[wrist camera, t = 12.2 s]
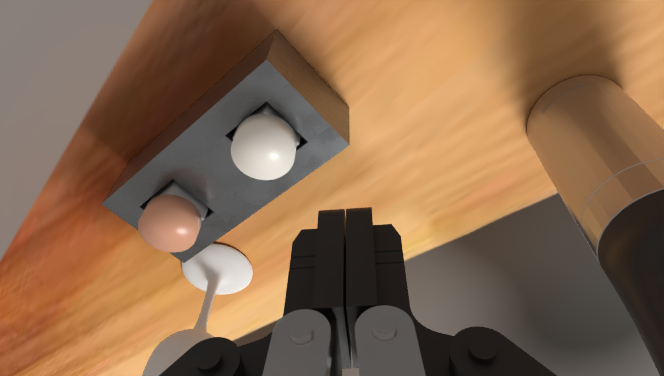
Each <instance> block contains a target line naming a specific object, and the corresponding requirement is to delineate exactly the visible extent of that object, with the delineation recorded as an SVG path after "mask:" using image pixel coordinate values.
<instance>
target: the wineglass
mask: <svg viewBox="0 0 664 376" xmlns="http://www.w3.org/2000/svg"><path fill="white" fill-rule="evenodd" d="M182 270H183V273H184V275H185V277H186V278H187V279H188V281H189V282H190V283H192V284H193V285H194V286H196V287H197V288H199V289H201V290H203V291H206V295H205V299H204V303H203V306H202V310H201V313H200V316H199V318H198V321H197V323H196V325H195V327H194V329H188V330H183V331H179V332H176V333H174V334H172V335H170V336H169V337H167V338H166V339H164V340H163V341H162V342H161V343H160V344H159V345H158V346H157V347H156V348H155V350H154V351H153V353H152V354H151V356H150V358H149V360H148V362H147V365H146V367H145V369H144V372H143V375H142V376H159V375H160V374H161V373H162V372H163V371H165V370H166V369H167V368H168V367H169V366H170V365H172V364H173V363H174V362H175V361H176V360H177V359H178V358H180V357H181V356H182V355H183V354H184V353H185V352H187V351H188V350H189V349H190V348H191V347H192V346H194V345H195V344H197V343H198V342H200V341H203V340H205V339H208V338H213V336H212V335H210V334H209V333H207V332H206V327H207V321H208V316H209V312H210V309H211V305H212V302H213V299H214V296H215V294H231V293H235V292H238V291H240V290H242V289H244V288H245V287H246V286H247V285H248V284H249V283H250V281H251V279H252V275H253V270H252V266H251V264H250V262H249V261H248V259H247V258H246V257H245V256H244V255H243V254H242V253H241V252H239V251H238V250H236V249H234V248H232V247H229V246H226V245H222V244H214V243H212V244H210V245H209V246H208V247H206V248H205V249H203V250H202V251H201V252H199V253H198V254H196V255H195V256H194V257H192V258H191V259H189V260H188V261H187V262H185V263H183V262H182Z"/></svg>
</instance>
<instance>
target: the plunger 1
mask: <svg viewBox="0 0 664 376" xmlns="http://www.w3.org/2000/svg"><path fill="white" fill-rule="evenodd" d="M207 210H208V207H207V206H206V205H205V204H204V203H202V202H201V201H200V200H199V199H197V198H196V197H195V196H194V195H192V194H191V193H190V192H189V191H187V190H186V189H185V188H184V187H182V186H181V185H180V184H179V183H177V182H176V181H175V180H174V179H172V180H171V181H170V182H169V183H167V184H166V185H165V186H164V187H163V188H161V189H160V190H159V191H158V192H157V193H155V194H154V195H153V196H152V198H151V200H150V201H149V202H148V204H147V206H146V208H145V210H144V211H143V213H142V215H141V217H140V219H139V222H138V230H139V233H140V235H141V237H142V238H143V239H144V240H145V241H146V242H147V243H148V244H149V245H151V246H152V247H154V248H156V249H158V250H161V251H165V252H182V251H185V250H187V249H189V248H190V247H191V246H192V245H193V244H194V243H195V241H196V238H197V235H198V233H199V230H200V227H201V224H202V221H203V220H204V219H205V216H206V213H207Z"/></svg>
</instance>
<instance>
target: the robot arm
mask: <svg viewBox="0 0 664 376" xmlns="http://www.w3.org/2000/svg"><path fill="white" fill-rule="evenodd" d="M527 136H528V138H529V141H530V143H531V145H532V147H533V149H534V150H535V152H536V154H537V156H538V157H539V159H540V161H541V163H542V165H543V166H544V168H545V170H546V172H547V173H548V175H549V177H550V179H551V180H552V182H553V184H554V186H555V187H556V189H557V191H558V192H559V194H560V196H561V198H562V199H563V201H564V203H565V205H566V206H567V208H568V210H569V212H570V213H571V215H572V217H573V218H574V220H575V222H576V224H577V225H578V227H579V229H580V231H581V232H582V234H583V236H584V237H585V239H586V241H587V242H588V244H589V246H590V248H591V249H592V251H593V252H594V254H595V256H596V258H597V260H598V262H599V263H600V265H601V267H602V269H603V270H604V272H605V274H606V275H607V277H608V279H609V280H610V282H611V284H612V285H613V287H614V289H615V290H616V292H617V294H618V295H619V297H620V299H621V300H622V302H623V304H624V306H625V308H626V309H627V311H628V313H629V315H630V316H631V318H632V320H633V322H634V324H635V326H636V328H637V329H638V332H639V334H640V335H641V338H642V339H643V341H644V343H645V345H646V347H647V349H648V351H649V354H650V356H651V358H652V360H653V362H654V364H655V366H656V368H657V370H658V372H659V374H660V376H664V130H663V129H662V128H661V127H660V126H659V125H658V124H657V123H656V122H655V121H654V120H653V119H652V118H651V117H650V116H649V115H648V114H647V113H646V112H645V111H644V110H643V109H642V108H641V107H640V106H639V105H638V104H637V103H636V102H635V101H634V100H633V99H632V98H630V97H629V96H628V95H627V94H626V93H625V92H624V91H623V90H622V89H621V88H620V87H619V86H618V85H617V84H616V83H615V82H613V81H611V80H609V79H607V78H605V77H601V76H596V75H584V76H578V77H573V78H570V79H567V80H564V81H562V82H561V83H559V84H557V85H555V86H553V87H552V88H551V89H549V90H548V91H547V92H545V93H544V94H543V95H542V96H541V98H540V99H539V100H538V101H537V102H536V104H535V105H534V107H533V108H532V110H531V113H530V115H529V118H528V122H527ZM289 269H290V271H289V276H288V283H287V291H286V299H285V307H284V314H283V317H282V318H281V319H280V320H279V321H278V322H277V324H276V325H275V327H274V329H273V331H272V332H271V333H270V334H269V335H267V336H266V337H264V338H262V339H260V340H257V341H255V342H251V343H249V344H246V345H242V346H239V347H237V346H236V344H235V343H234V342H232V341H231V340H229V339H226V338H222V337H213V338H208V339H205V340H203V341H200V342H198V343H197V344H195V345H194V346H192V347H191V348H190V349H189V350H188V351H187V352H185V353H184V354H183V355H182V356H181V357H180V358H178V359H177V360H176V361H175V362H174V363H173V364H172V365H170V366H169V367H168V368H167V369H166V370H165V371H163V372H162V373H161V374H160V375H159V376H342V369H345V368H351V350H352V358H353V366H354V368H359V376H556V375H555V374H554V373H553V372H551V371H549V369H547V368H546V367H545V366H543V365H542V364H541V363H539V362H538V361H537V360H535V359H534V358H533V357H531V356H530V355H529V354H527V353H526V352H524V351H523V350H522V349H521V348H519V347H518V346H517V345H515V344H514V343H513V342H511V341H510V340H509V339H507V338H506V337H505V336H503V335H502V334H500V333H499V332H497V331H495V330H493V329H489V328H485V327H470V328H466V329H464V330H461V331H460V332H458V333H457V334H456V335H455V336H451V335H446V334H442V333H438V332H435V331H432V330H430V329H428V328H426V327H424V326H423V325H421V324H420V323H419V322H418V321H417V320H416V319H415V317H414V316H413V314H412V312H411V309H410V304H409V296H408V289H407V281H406V274H405V266H404V258H403V251H402V243H401V236H400V235H399V233H398V232H397V231H396V229H395V228H394V227H393V226H392V224H386V225H373V222H372V207H368V208H353V209H346V217H345V210H344V209H339V210H323V211H319V214H318V228H317V229H306V230H301V231H300V233H299V234H298V236H297V237H296V239H295V240H294V242H293V244H292V252H291V260H290V268H289Z"/></svg>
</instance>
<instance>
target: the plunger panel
mask: <svg viewBox="0 0 664 376" xmlns="http://www.w3.org/2000/svg"><path fill="white" fill-rule="evenodd" d="M266 101H267V102H268V103H269V104H270V105H271V106H272V107H273V108H274V109H275V110H276V111H277V112H278V113H279V114H280V115H281V116H282V117H283V118H284V119H285V120H286V121H287V122H288V123H289V124H290V125H291V126H292V127H293V128H294V129H295V130H296V131H297V132H298V133H299V134H300V135H301V137H300V144H299V145H297V146H296V153H295V160H294V163H293V165H292V167H291V169H290V170H289V171H288V172H287V173H286V174H285V175H283V176H281V177H279V178H277V179H273V180H259V179H255V178H252V177H249V176H247V175H246V174H244V173H243V172H242V171H240V170H239V169H238V168H237V166H236V165H235V163H234V162H233V159H232V156H231V145H232V142H233V136H234V133H235V130H236V128H237V125H239V124H240V123H241V122H242V121H243V120H245V119H246V118H247V117H248V116H249V115H251V114H252V113H253V112H254V111H255V110H257V109H258V108H259V107H260V106H261V105H263V104H264V103H265V102H266ZM348 146H349V107H348V106H347V105H346V104H345V103H344V102H343V100H342V99H341V98H340V97H339V96H338V95H337V94H336V93H335V92H334V91H333V90H332V89H331V87H330V86H329V85H328V84H327V83H326V82H325V81H324V80H323V79H322V78H321V77H320V76H319V74H318V73H317V72H316V71H315V70H314V69H313V68H312V67H311V66H310V65H309V64H308V62H307V61H306V60H305V59H304V58H303V57H302V56H301V55H300V54H299V53H298V52H297V51H296V49H295V48H294V47H293V46H292V45H291V44H290V43H289V42H288V41H287V40H286V39H285V38H284V36H283V35H282V34H281V33H280V32H279V31H278V30H277V29H276V30H275V31H274V32H273V33H272V34H271V35H270V36H269V37H267V38H266V39H265V40H264V41H263V42H262V43H261V44H260V45H259V46H257V47H256V48H255V49H254V50H253V51H252V52H251V53H250V54H249V55H247V56H246V57H245V58H244V59H243V60H242V61H241V62H240V63H239V64H237V65H236V66H235V67H234V68H233V69H232V70H231V71H230V72H229V73H227V74H226V75H225V76H224V77H223V78H222V79H221V80H220V81H219V82H217V83H216V84H215V85H214V86H213V87H212V88H211V89H210V90H209V91H207V92H206V93H205V94H204V95H203V96H202V97H201V98H200V99H199V100H197V101H196V102H195V103H194V104H193V105H192V106H191V107H190V108H189V109H187V110H186V111H185V112H184V113H183V114H182V115H181V116H180V117H179V118H177V119H176V120H175V121H174V122H173V123H172V124H171V125H170V126H169V127H167V128H166V129H165V130H164V131H163V132H162V133H161V134H160V135H159V136H157V137H156V138H155V139H154V140H153V141H152V142H151V143H150V144H149V145H147V146H146V147H145V148H144V149H143V150H142V151H141V152H140V153H139V154H137V155H136V156H135V157H134V158H133V159H132V160H131V161H130V162H129V163H128V164H127V165H126V167H125V168H124V170H123V171H122V173H121V174H120V176H119V178H118V179H117V181H116V182H115V184H114V185H113V187H112V188H111V190H110V192H109V193H108V195H107V196H106V198H105V199H104V201H103V202H102V205H104V206H105V207H106V208H108V209H109V210H111V211H112V212H113V213H115V214H116V215H118V216H119V217H120V218H122V219H123V220H125V221H126V222H127V223H129V224H130V225H132V226H133V227H134V228H136V229H137V230H138V222H139V219H140V217H141V215H142V213H143V211H144V210H145V208H146V206H147V204H148V202H149V201H150V200H151V198H152V196H153V195H154V194H155V193H157V192H158V191H159V190H160V189H161V188H163V187H164V186H165V185H166V184H167V183H169V182H170V181H171V180H172V179H174V180H175V181H176V182H177V183H179V184H180V185H181V186H182V187H184V188H185V189H186V190H187V191H189V192H190V193H191V194H192V195H194V196H195V197H196V198H197V199H199V200H200V201H201V202H202V203H204V204H205V205H206V206H207V207H208V210H207V213H206V216H205V219H204V220H203V221H202V224H201V227H200V230H199V233H198V235H197V238H196V241H195V243H194V244H193V245H192V246H191V247H190V248H189V249H187V250H185V251H182V252H169V253H171V254H172V255H174V256H175V257H176V258H178V259H179V260H181V261H182V262H183V263H185V262H187V261H188V260H189V259H191V258H192V257H194V256H195V255H196V254H198V253H199V252H201V251H202V250H203V249H205V248H206V247H208V246H209V245H210V244H212V243H213V242H215V241H216V240H217V239H219V238H220V237H222V236H223V235H224V234H226V233H227V232H229V231H230V230H231V229H233V228H234V227H236V226H237V225H238V224H240V223H241V222H243V221H244V220H245V219H247V218H248V217H250V216H251V215H252V214H254V213H255V212H257V211H258V210H260V209H261V208H262V207H264V206H265V205H267V204H268V203H269V202H271V201H272V200H274V199H275V198H276V197H278V196H279V195H281V194H282V193H283V192H285V191H286V190H288V189H289V188H290V187H292V186H293V185H295V184H296V183H297V182H299V181H300V180H302V179H303V178H304V177H306V176H307V175H309V174H310V173H311V172H313V171H314V170H316V169H317V168H318V167H320V166H321V165H323V164H324V163H325V162H327V161H328V160H330V159H331V158H332V157H334V156H335V155H337V154H338V153H339V152H341V151H342V150H344V149H345V148H346V147H348Z"/></svg>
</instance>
